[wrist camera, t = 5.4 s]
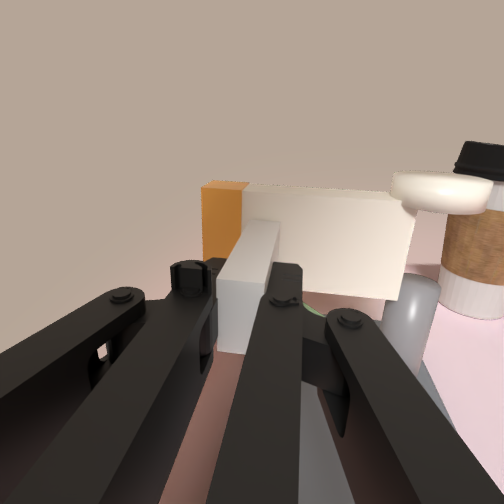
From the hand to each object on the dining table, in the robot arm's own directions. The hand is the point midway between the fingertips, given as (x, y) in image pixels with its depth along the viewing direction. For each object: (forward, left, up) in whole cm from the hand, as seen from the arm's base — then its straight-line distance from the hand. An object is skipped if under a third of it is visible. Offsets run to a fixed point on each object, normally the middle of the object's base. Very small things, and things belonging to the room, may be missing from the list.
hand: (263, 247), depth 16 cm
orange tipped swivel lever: (-3, -1, -9) cm, 9 cm away
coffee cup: (-19, -16, -11) cm, 27 cm away
